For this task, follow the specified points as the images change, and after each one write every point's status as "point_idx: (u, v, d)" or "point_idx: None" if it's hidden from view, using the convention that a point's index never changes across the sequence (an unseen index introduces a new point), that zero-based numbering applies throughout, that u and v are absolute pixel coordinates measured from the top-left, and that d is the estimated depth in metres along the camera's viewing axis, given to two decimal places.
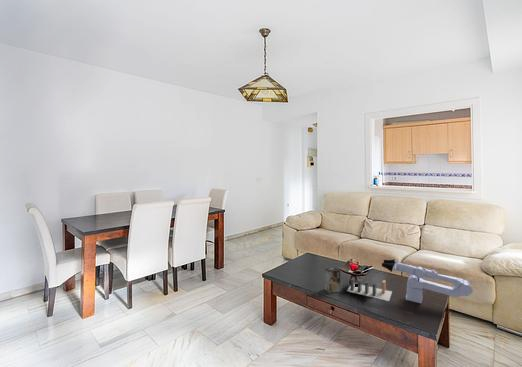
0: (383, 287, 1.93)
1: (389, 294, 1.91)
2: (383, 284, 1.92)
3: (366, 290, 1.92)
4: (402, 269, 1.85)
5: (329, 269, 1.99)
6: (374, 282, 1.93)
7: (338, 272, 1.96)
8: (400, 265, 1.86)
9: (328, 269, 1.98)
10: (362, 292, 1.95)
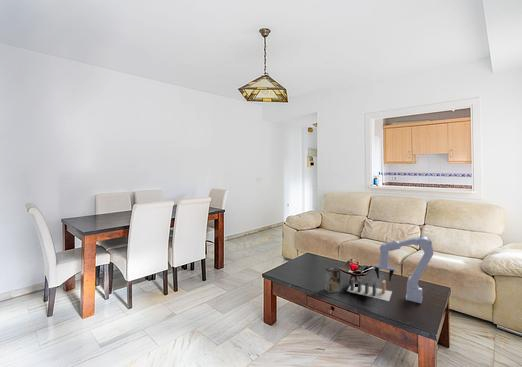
0: (383, 287, 1.93)
1: (389, 294, 1.91)
2: (383, 284, 1.92)
3: (366, 290, 1.92)
4: (380, 260, 1.95)
5: (329, 269, 1.99)
6: (374, 282, 1.93)
7: (338, 272, 1.96)
8: None
9: (328, 269, 1.98)
10: (362, 292, 1.95)
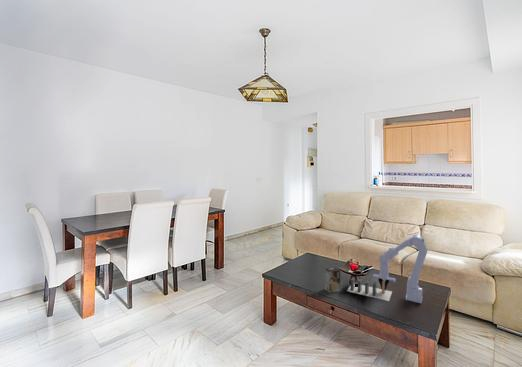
0: (383, 287, 1.93)
1: (389, 294, 1.91)
2: (383, 284, 1.92)
3: (366, 290, 1.92)
4: None
5: (329, 269, 1.99)
6: (374, 282, 1.93)
7: (338, 272, 1.96)
8: None
9: (328, 269, 1.98)
10: (362, 292, 1.95)
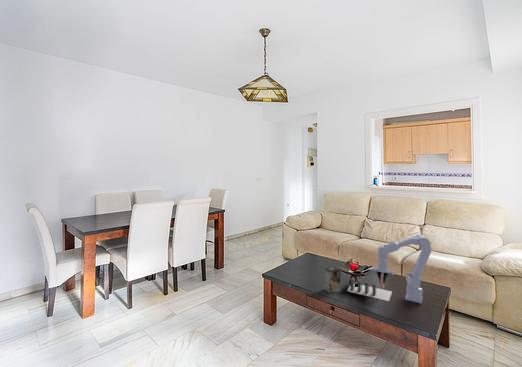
0: (381, 282, 1.86)
1: (389, 294, 1.91)
2: (381, 279, 1.86)
3: (366, 290, 1.92)
4: (378, 263, 1.89)
5: (329, 269, 1.99)
6: (374, 282, 1.93)
7: (338, 272, 1.96)
8: None
9: (328, 269, 1.98)
10: (362, 292, 1.95)
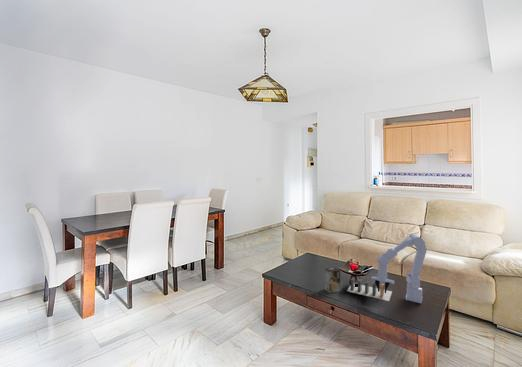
0: (381, 291, 1.87)
1: (389, 294, 1.91)
2: (381, 288, 1.87)
3: (366, 290, 1.92)
4: (378, 273, 1.89)
5: (329, 269, 1.99)
6: (374, 282, 1.93)
7: (338, 272, 1.96)
8: None
9: (328, 269, 1.98)
10: (362, 292, 1.95)
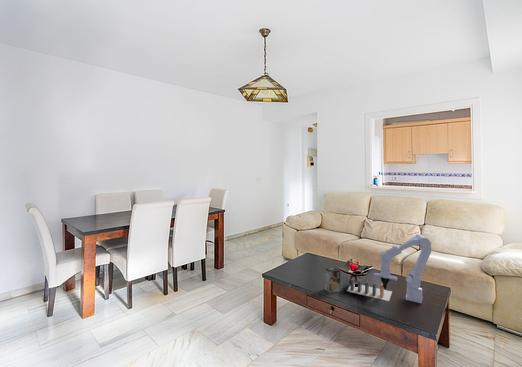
0: (381, 291, 1.87)
1: (389, 294, 1.91)
2: (381, 288, 1.87)
3: (366, 290, 1.92)
4: (381, 269, 1.88)
5: (329, 269, 1.99)
6: (374, 282, 1.93)
7: (338, 272, 1.96)
8: None
9: (328, 269, 1.98)
10: (362, 292, 1.95)
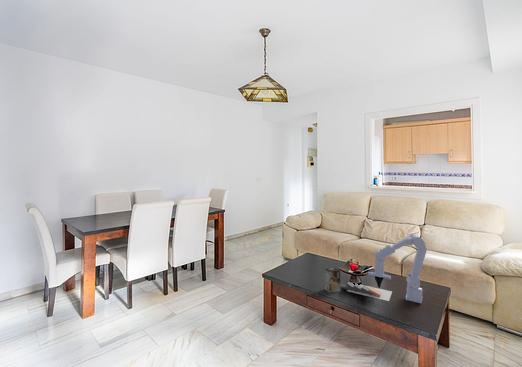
0: (373, 292, 1.90)
1: (389, 294, 1.91)
2: (370, 290, 1.91)
3: (361, 290, 1.94)
4: (375, 268, 1.90)
5: (329, 269, 1.99)
6: (362, 286, 1.97)
7: (338, 272, 1.96)
8: None
9: (328, 269, 1.98)
10: None
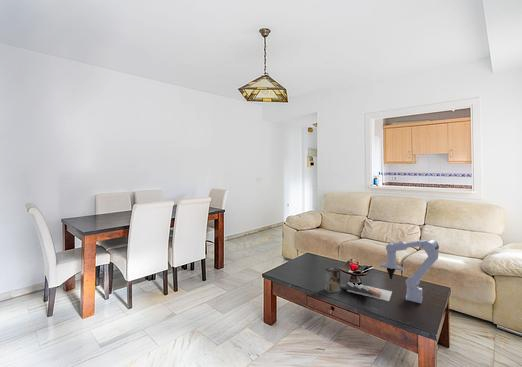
0: (373, 292, 1.90)
1: (389, 294, 1.91)
2: (370, 290, 1.91)
3: (361, 290, 1.94)
4: (387, 260, 1.96)
5: (329, 269, 1.99)
6: (362, 286, 1.97)
7: (338, 272, 1.96)
8: None
9: (328, 269, 1.98)
10: None
